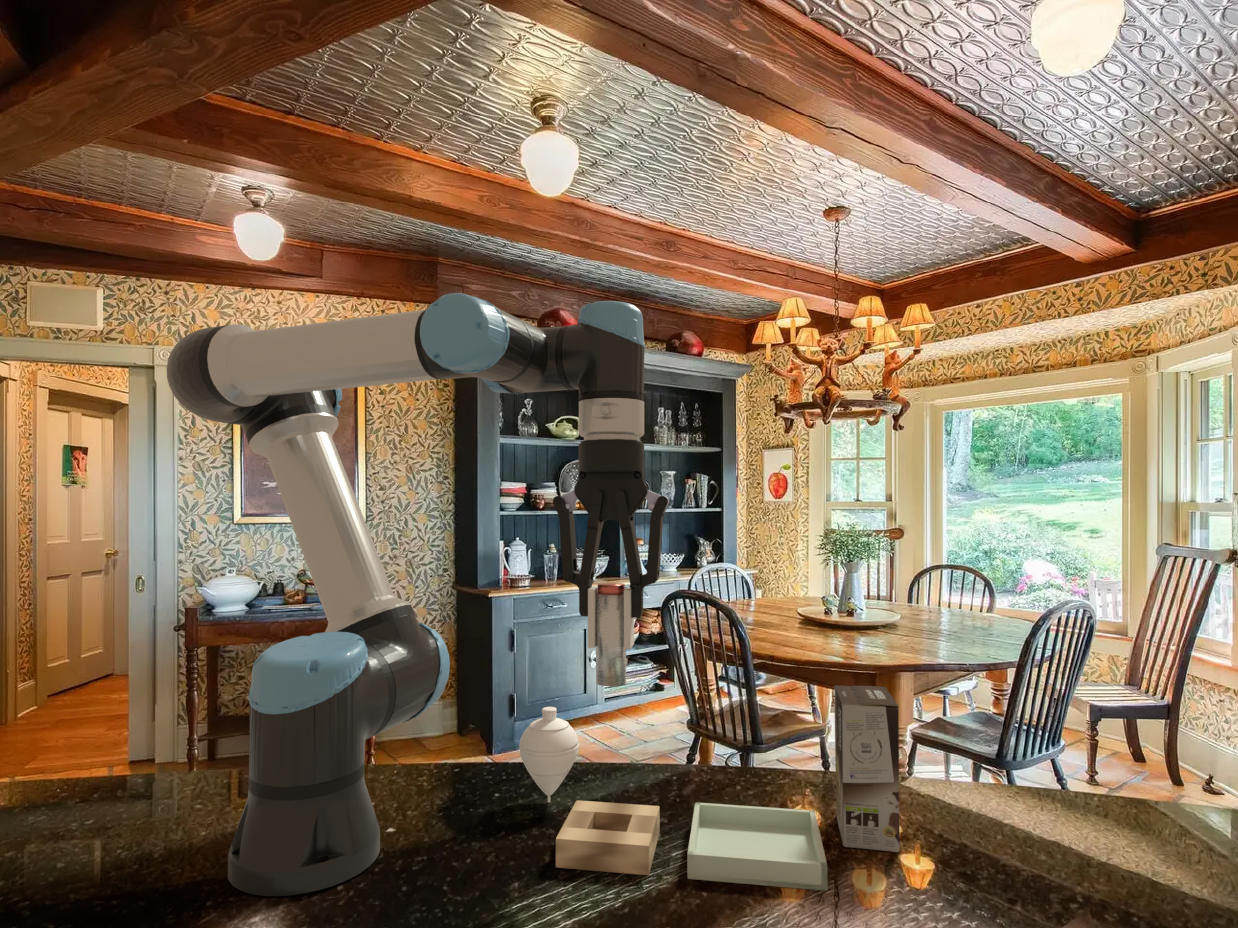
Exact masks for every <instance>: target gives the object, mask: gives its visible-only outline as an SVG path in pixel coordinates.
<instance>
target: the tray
mask: <svg viewBox="0 0 1238 928" xmlns="http://www.w3.org/2000/svg"><path fill="white" fill-rule="evenodd" d="M825 853H826V852H825V849H824V846H823V839H822V837H821V831H820V828H819V823H818V820H817V815H816V810H812V809H811V810H809V809H797V808H781V807H767V806H754V805H740V804H739V805H738V804H727V803H726V804H722V803H710V802H709V803H707V802H697V801H696V802H695V803H694V808H693V815H692V821H691V830H690V835H689V841H688V847H687V859H686V861H687V865H686V866H687V879H688V880H700V881H709V882H721V883H733V884H746V885H757V886H767V887H779V888H780V887H781V888H789V889H790V888H792V889H803V890H814V891H824V892H825V891H827V892H828V889H829V888H828V863H827V858H826V855H825Z"/></svg>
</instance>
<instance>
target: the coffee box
mask: <svg viewBox="0 0 1238 928" xmlns="http://www.w3.org/2000/svg"><path fill="white" fill-rule="evenodd" d="M833 687H834V688H833V690H834V691H833V693H834V701H833V702H834V753H835V754H834V755H835V756H834V759H835V761H834V762H835V764H834V765H835V801H836V803H835V808H836V809H835V810H836V813H835V814H836V815H835V817H836V819H837V820H836V821H837V824H838V830H839V835H840V838H841V842H842V846H843V847H844V848H854V849H862V850H863V849H865V850H871V851H881V852H882V851H884V852H889V853H890V852H893V853H899V852H900V850H901V849H900V848H901V847H900V846H901V845H900V837H901V836H900V835H901V833H900V832H901V831H900V781H899V780H900V744H899V743H900V737H899V735H900V733H899V732H900V729H899V727H900V726H899V716H900V715H899V709H900V706H899V704H898V703H897V702H896V700H895V699H894V697H893V696H892V694H891V693H890V692H889V690H888V688H887V687H886V686H879V685H878V686H877V685H876V686H875V685H874V686H873V685H837V684H836V685H834V686H833Z"/></svg>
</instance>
